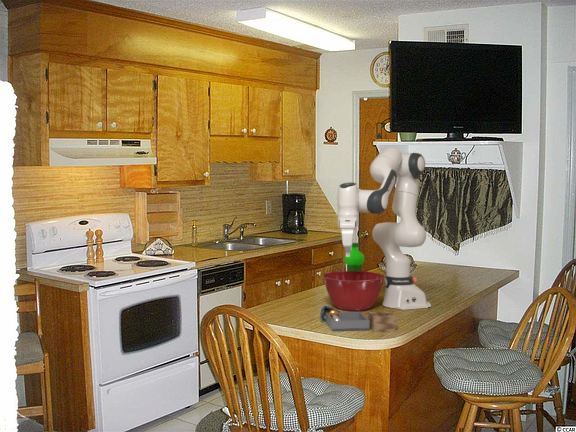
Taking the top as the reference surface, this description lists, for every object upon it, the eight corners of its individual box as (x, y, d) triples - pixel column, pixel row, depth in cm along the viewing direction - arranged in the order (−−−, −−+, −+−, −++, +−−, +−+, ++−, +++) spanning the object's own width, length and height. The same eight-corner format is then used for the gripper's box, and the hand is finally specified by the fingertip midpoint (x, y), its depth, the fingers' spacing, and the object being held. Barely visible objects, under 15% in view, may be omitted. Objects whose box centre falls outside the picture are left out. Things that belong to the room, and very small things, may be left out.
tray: (360, 321, 266) (360, 311, 266) (369, 330, 251) (369, 320, 251) (325, 322, 264) (325, 312, 264) (332, 331, 250) (332, 321, 249)
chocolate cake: (345, 318, 273) (325, 299, 274) (349, 317, 267) (329, 297, 267) (330, 334, 271) (310, 315, 271) (334, 334, 264) (314, 314, 264)
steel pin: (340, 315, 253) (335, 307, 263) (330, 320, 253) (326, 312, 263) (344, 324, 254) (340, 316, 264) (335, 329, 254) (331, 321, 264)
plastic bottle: (343, 291, 329) (343, 244, 327) (346, 287, 339) (346, 241, 337) (362, 292, 326) (363, 244, 324) (364, 288, 337) (365, 242, 335)
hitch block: (389, 325, 259) (389, 311, 258) (396, 331, 250) (396, 316, 249) (368, 326, 258) (368, 312, 257) (373, 332, 249) (374, 317, 248)
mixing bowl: (312, 304, 299) (312, 271, 298) (366, 299, 309) (366, 268, 308) (338, 317, 273) (338, 282, 271) (395, 312, 283) (396, 278, 281)
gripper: (341, 218, 274) (341, 250, 275) (339, 224, 253) (339, 258, 255) (356, 218, 273) (356, 250, 274) (355, 224, 253) (355, 258, 254)
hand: (348, 254), depth 265 cm, fingers open, 8 cm apart
